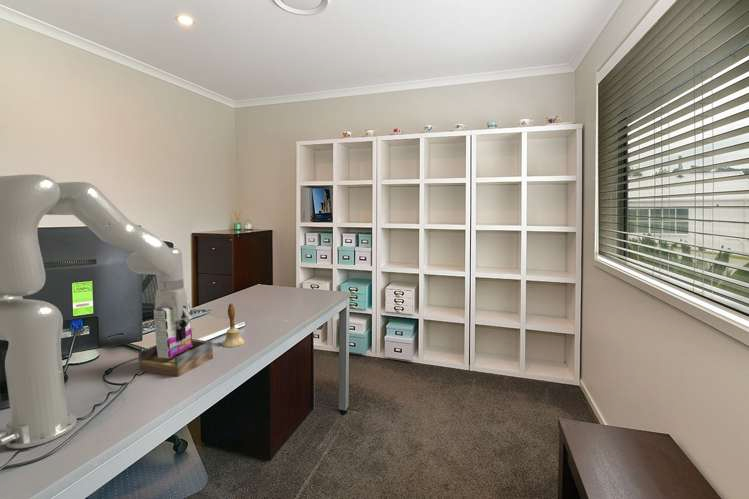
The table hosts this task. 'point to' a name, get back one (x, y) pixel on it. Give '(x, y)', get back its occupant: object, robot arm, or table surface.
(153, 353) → the wooden tray
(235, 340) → the hand bell
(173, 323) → the candy bar box
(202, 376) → the table surface
